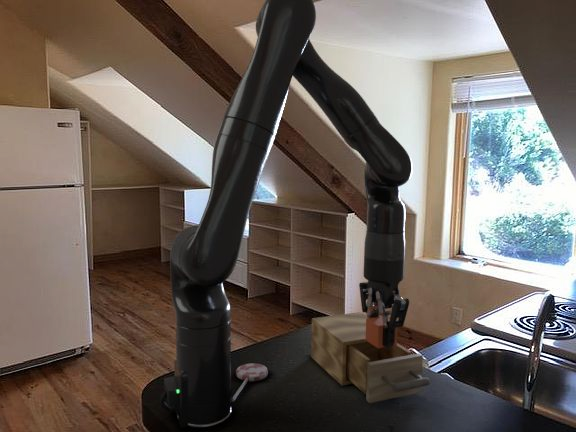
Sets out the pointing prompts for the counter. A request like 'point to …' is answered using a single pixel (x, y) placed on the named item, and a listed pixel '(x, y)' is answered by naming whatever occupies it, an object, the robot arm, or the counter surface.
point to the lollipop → (250, 375)
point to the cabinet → (336, 341)
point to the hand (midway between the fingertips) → (380, 340)
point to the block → (376, 331)
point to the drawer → (384, 371)
